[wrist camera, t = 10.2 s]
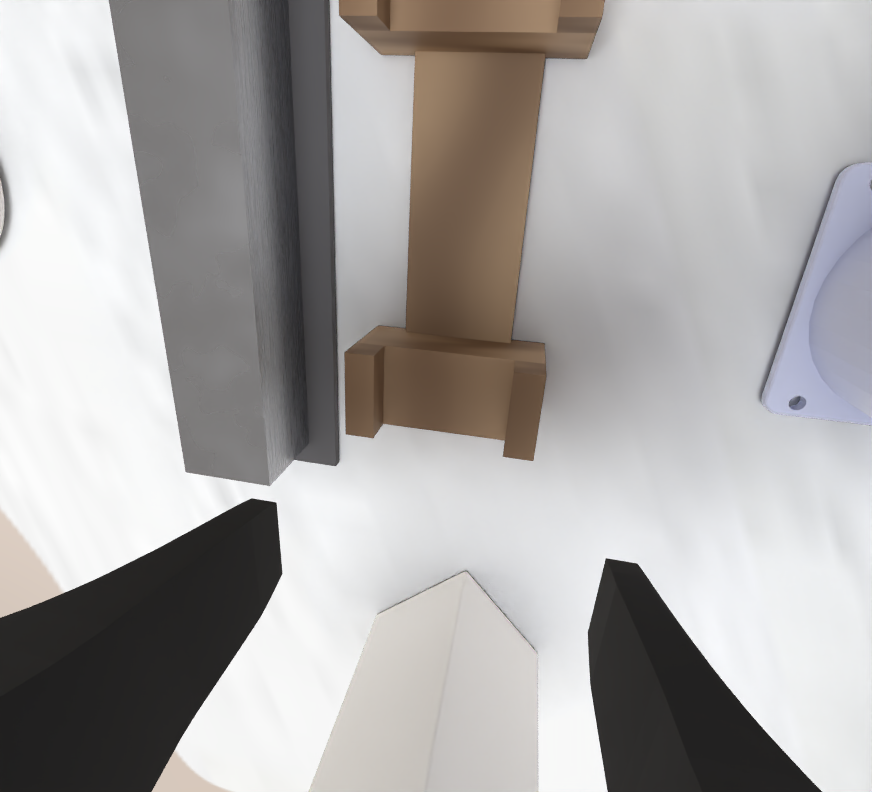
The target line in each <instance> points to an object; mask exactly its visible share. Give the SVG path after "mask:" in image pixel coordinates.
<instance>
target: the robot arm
mask: <svg viewBox="0 0 872 792" xmlns="http://www.w3.org/2000/svg"><path fill="white" fill-rule="evenodd" d="M871 180H872V163H870V162H866V163H858V164H853V165H851V166H849V167H847V168H845V169H844V170H843V171H842V172H841V173H840V174H839V176H838V178H837V179H836V181H835V184H834V187H833V190H832V193H831V196H830V199H829V202H828V205H827V208H826V211H825V214H824V216H823V219H822V222H821V225H820V228H819V231H818V234H817V237H816V240H815V243H814V246H813V248H812V251H811V254H810V257H809V260H808V263H807V266H806V269H805V272H804V275H803V278H802V281H801V283H800V286H799V289H798V292H797V295H796V298H795V301H794V304H793V307H792V310H791V313H790V315H789V318H788V321H787V324H786V327H785V330H784V333H783V336H782V339H781V342H780V345H779V347H778V350H777V353H776V356H775V359H774V362H773V365H772V368H771V371H770V374H769V377H768V380H767V382H766V385H765V388H764V391H763V394H762V399H761V401H762V404H763V406H764V407H765V408H766V409H768V410H769V411H770V412H772V413H775V414H781V415H790V416H798V417H806V418H815V419H823V420H831V421H840V422H848V423H857V424H865V425H872V190H871V188H870V181H871ZM796 396H800V401H799V402H798V403H797V404H796V405H793V406H789V402H790V400H791V399H792V398H794V397H796ZM281 575H282V564H281V552H280V540H279V528H278V516H277V504H276V503H275V502H270V501H264V500H258V499H250V500H247V501H245V502H243V503H241V504H239V505H237V506H235V507H233V508H232V509H230V510H228V511H226V512H224V513H222V514H220V515H219V516H217V517H215V518H213V519H211V520H210V521H208V522H206V523H204V524H202V525H201V526H199V527H197V528H195V529H193V530H191V531H189V532H188V533H186V534H184V535H182V536H180V537H178V538H177V539H175V540H173V541H171V542H169V543H167V544H165V545H164V546H162V547H160V548H158V549H156V550H154V551H152V552H150V553H148V554H146V555H144V556H142V557H140V558H138V559H136V560H134V561H132V562H130V563H128V564H126V565H124V566H122V567H120V568H118V569H116V570H114V571H112V572H110V573H108V574H106V575H104V576H102V577H99V578H97V579H95V580H93V581H91V582H88V583H86V584H84V585H82V586H79V587H77V588H75V589H73V590H70V591H68V592H65V593H63V594H61V595H58V596H56V597H54V598H51V599H49V600H46V601H44V602H42V603H39V604H37V605H34V606H32V607H29V608H27V609H24V610H21V611H18V612H15V613H13V614H10V615H7V616H4V617H2V618H0V792H151V791H152V790H153V788H154V786H155V784H156V782H157V781H158V779H159V777H160V775H161V773H162V772H163V769H164V768H165V766H166V764H167V763H168V761H169V759H170V757H171V755H172V754H173V752H174V750H175V748H176V746H177V744H178V743H179V741H180V739H181V737H182V736H183V734H184V732H185V731H186V729H187V728H188V726H189V724H190V723H191V721H192V719H193V718H194V716H195V715H196V713H197V711H198V710H199V709H200V707H201V706H202V704H203V703H204V701H205V700H206V698H207V697H208V695H209V694H210V692H211V691H212V689H213V688H214V686H215V685H216V683H217V682H218V680H219V679H220V677H221V676H222V674H223V673H224V671H225V670H226V668H227V667H228V665H229V664H230V662H231V661H232V659H233V658H234V656H235V655H236V653H237V652H238V650H239V649H240V647H241V646H242V644H243V643H244V641H245V640H246V638H247V637H248V635H249V634H250V632H251V631H252V629H253V628H254V626H255V625H256V623H257V622H258V620H259V618H260V617H261V615H262V613H263V611H264V609H265V608H266V606H267V604H268V602H269V600H270V598H271V596H272V594H273V592H274V590H275V588H276V586H277V584H278V582H279V579H280V577H281ZM588 646H589V667H590V684H591V691H592V697H593V704H594V710H595V716H596V722H597V729H598V735H599V741H600V747H601V753H602V759H603V765H604V771H605V778H606V784H607V790H608V792H822V791H821V790H820V789H819V788H818V787H817V786H816V785H815V784H814V783H813V782H812V781H811V780H810V779H809V778H808V777H807V776H806V775H805V774H804V773H803V772H802V770H801V769H800V768H799V767H798V766H797V765H796V764H795V763H794V762H793V761H792V760H791V759H790V758H789V756H788V755H787V754H786V753H785V752H784V751H783V750H782V749H781V748H780V747H779V746H778V745H777V744H776V742H775V741H774V740H773V739H772V738H771V737H770V736H769V735H768V734H767V733H766V732H765V730H764V729H763V728H762V727H761V726H760V725H759V724H758V722H757V721H756V720H755V719H754V718H753V717H752V716H751V714H750V713H749V712H748V711H747V710H746V709H745V707H744V706H743V705H742V704H741V702H740V701H739V700H738V699H737V698H736V696H735V695H734V694H733V693H732V692H731V690H730V689H729V688H728V687H727V686H726V684H725V683H724V682H723V681H722V679H721V678H720V677H719V675H718V674H717V673H716V672H715V670H714V669H713V668H712V667H711V665H710V664H709V663H708V661H707V660H706V659H705V657H704V656H703V655H702V653H701V652H700V651H699V649H698V648H697V647H696V645H695V644H694V643H693V641H692V640H691V639H690V637H689V636H688V635H687V633H686V632H685V631H684V629H683V628H682V627H681V625H680V624H679V622H678V621H677V620H676V618H675V617H674V615H673V614H672V613H671V611H670V610H669V608H668V607H667V605H666V604H665V603H664V601H663V600H662V598H661V597H660V595H659V594H658V592H657V591H656V590H655V588H654V587H653V585H652V584H651V582H650V581H649V579H648V578H647V576H646V575H645V574H644V572H643V571H642V569H641V568H640V567H639V565H638V564H636V563H630V562H624V561H618V560H612V559H607V558H606V560H605V564H604V569H603V573H602V577H601V581H600V585H599V589H598V593H597V597H596V601H595V606H594V610H593V614H592V618H591V622H590V626H589V630H588Z"/></svg>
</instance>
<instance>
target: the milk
mask: <svg viewBox="0 0 872 792" xmlns="http://www.w3.org/2000/svg"><path fill="white" fill-rule="evenodd" d="M309 792H538V655H537V652H536V651H535V650H534V649H533V648H532V647H531V645H530V644H529V643H528V642H527V641H526V640H525V638H524V637H523V636H522V635H521V634H520V633H519V632H518V630H517V629H516V628H515V627H514V626H513V625H512V623H511V622H510V621H509V620H508V619H507V618H506V616H505V615H504V614H503V613H502V612H501V611H500V609H499V608H498V607H497V606H496V605H495V604H494V602H493V601H492V600H491V599H490V598H489V597H488V596H487V594H486V593H485V592H484V591H483V590H482V589H481V587H480V586H479V585H478V584H477V583H476V582H475V580H474V579H473V578H472V577H471V576H470V575H469V573H468V572H466V571H465V572H462V573H460V574H458V575H456V576H454V577H452V578H450V579H448V580H446V581H444V582H442V583H440V584H438V585H436V586H434V587H432V588H430V589H428V590H426V591H424V592H422V593H420V594H418V595H416V596H414V597H412V598H410V599H408V600H406V601H404V602H402V603H400V604H398V605H396V606H394V607H392V608H390V609H388V610H386V611H384V612H382V613H380V614H378V615H377V616H376V617H375V620H374V622H373V625H372V628H371V630H370V633H369V635H368V638H367V641H366V643H365V646H364V648H363V651H362V654H361V656H360V659H359V662H358V664H357V667H356V669H355V672H354V675H353V677H352V680H351V682H350V685H349V688H348V690H347V693H346V695H345V698H344V701H343V703H342V706H341V709H340V711H339V714H338V716H337V719H336V722H335V724H334V727H333V729H332V732H331V735H330V737H329V740H328V742H327V745H326V748H325V750H324V753H323V756H322V758H321V761H320V763H319V766H318V769H317V771H316V774H315V776H314V779H313V782H312V784H311V787H310V789H309Z"/></svg>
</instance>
